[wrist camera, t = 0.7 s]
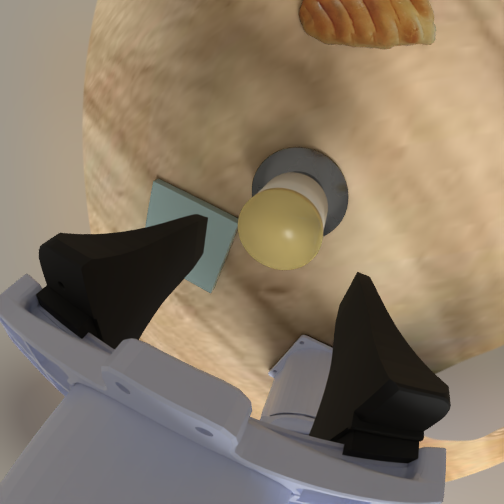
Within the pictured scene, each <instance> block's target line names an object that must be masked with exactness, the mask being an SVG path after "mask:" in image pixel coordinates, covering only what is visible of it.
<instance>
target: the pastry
mask: <svg viewBox="0 0 504 504" xmlns="http://www.w3.org/2000/svg"><path fill="white" fill-rule="evenodd" d="M299 16H300V21H301V23H302V25H303V28H304V30H305V32H306V33H307V34H309V35H310V36H312V37H314V38H316V39H318V40H320V41H321V42H323V43H325V44H338V45H342V44H344V45H348V46H352V47H369V48H378V49H390V48H391V47H393V46H401V45H405V46H408V45H415V44H424V45H431V44H432V43H434V41H435V31H436V27H435V24H434V14H433V10H432V8H431V5H430V3H429V0H303V1H302V5H301V7H300V12H299Z"/></svg>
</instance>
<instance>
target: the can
mask: <svg viewBox="0 0 504 504" xmlns="http://www.w3.org/2000/svg"><path fill="white" fill-rule="evenodd" d="M327 212H328V202H327V198H326V195H325V193H324V191H323V189H322V188H321V186H320V185H319V184H318V183H317V182H316V181H315V180H313V179H312V178H310V177H309V176H306V175H304V174H301V173H295V172H289V173H283V174H280V175H278V176H276V177H274V178H273V179H272V180H270V181H269V182H268V183H267V184H266V185H265V186H264V187H263V188H262V189H261V190H260V191H259V192H258V193H257V194H256V195H254V196H253V197H252V198H251V199H250V200H249V201H248V202H247V203H246V204H245V205H244V207H243V208H242V210H241V212H240V215H239V218H238V233H239V237H240V240H241V243H242V244H243V246H244V248H245V249H246V251H247V252H248V253H249V254H250V255H251V256H252V257H253V258H254V259H255V260H256V261H258V262H259V263H261V264H263V265H265V266H267V267H270V268H273V269H278V270H292V269H296V268H299V267H302V266H304V265H306V264H307V263H309V262H310V261H311V260H312V259H313V258H314V257H315V256H316V254H317V253H318V251H319V249H320V246H321V243H322V239H323V231H324V226H325V222H326V217H327Z"/></svg>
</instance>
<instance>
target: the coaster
mask: <svg viewBox="0 0 504 504" xmlns="http://www.w3.org/2000/svg"><path fill="white" fill-rule="evenodd" d="M193 214H199V215H202V216H205V217H208V223H207V230H206V238H205V245H204V253H203V255H202V256H201V258H200V259H199V261H198V262H197V264H196V265H195V267H194V268H193V269H192V270H191V272H190V273H189V274H188V275H187V276H186V277H185V278H184V279H186V280H188V281H190V282H191V283H193V284H195V285H197V286H198V287H200V288H202V289H204V290H206V291H207V292H209V293H211V292H212V291H213V290H214V288H215V285H216V283H217V280H218V277H219V275H220V272H221V270H222V267H223V265H224V262H225V260H226V257H227V255H228V252H229V250H230V247H231V245H232V242H233V240H234V237H235V235H236V232H237V230H238V218H236V217H234V216H232V215H230V214H228V213H226V212H224V211H222V210H220V209H218V208H216V207H214V206H213V205H211V204H209V203H207V202H205V201H203V200H201V199H199V198H197V197H195V196H193V195H191V194H189V193H186V192H184V191H182V190H180V189H178V188H176V187H174V186H172V185H170V184H168V183H166V182H164V181H162V180H160V179H157V180H155V181H153V186H152V191H151V197H150V202H149V208H148V214H147V220H146V227H149V226H153V225H157V224H161V223H165V222H168V221H171V220H175V219H178V218H182V217H185V216H189V215H193ZM146 227H145V228H146Z"/></svg>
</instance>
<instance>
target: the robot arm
mask: <svg viewBox="0 0 504 504" xmlns="http://www.w3.org/2000/svg"><path fill="white" fill-rule="evenodd" d="M207 223H208V217H205V216H202V215H199V214H193V215H189V216H185V217H182V218H178V219H175V220H171V221H168V222H165V223H161V224H157V225H153V226H149V227H146V228H141V229H137V230H131V231H125V232H117V233H107V234H67V233H59V234H57V235H56V236H54V237H53V238H51V239H50V240H48V241H47V242H45V243H44V244H42V245H41V246H40V249H39V260H40V264H41V267H42V271H43V274H44V277H45V280H46V283H47V286H46V287H44V288H43V289H42V288H41V286H40V284H39V283H38V282H37V281H35V280H34V279H33V278H32V277H31V276H30V275H28V274H25V275H24V276H23V277H21V278H20V279H19V280H18V281H16V282H15V283H14V284H13V285H11V286H10V287H9V288H8V289H7V290H6V291H4V292H3V293H2V294H1V295H0V322H1V324H2V325H3V327H4V329H5V330H6V332H7V334H8V336H9V337H10V339H11V340H12V341H13V343H14V344H15V345H16V346H17V347H18V348H19V349H20V351H21V352H22V353H23V354H24V355H25V356H26V357H27V358H28V359H29V361H30V362H31V363H32V364H33V365H34V366H35V367H36V368H37V369H38V370H39V371H40V372H41V373H42V374H43V375H44V377H46V379H47V380H48V381H49V382H50V383H51V384H52V385H53V386H54V387H56V388H57V389H58V390H59V391H60V392H61V393H62V394H63V395H64V396H65V398H64V399H63V400H62V401H61V403H60V404H59V405H58V406H57V408H56V409H55V410H54V411H53V413H52V414H51V415H50V416H49V418H48V419H47V420H46V422H45V423H44V424H43V425H42V427H41V428H40V429H39V431H38V432H37V433H36V435H35V436H34V437H33V438H32V440H31V441H30V442H29V444H28V445H27V446H26V448H25V449H24V451H23V452H22V453H21V455H20V456H19V458H18V459H17V460H16V462H15V463H14V464H13V466H12V467H11V469H10V470H9V472H8V473H7V474H6V476H5V477H4V479H3V480H2V482H1V483H0V504H441V503H442V502H443V498H444V487H445V472H446V449H445V448H437V447H423V448H419V441H422V440H423V438H424V431H425V430H426V429H428V428H429V427H431V426H433V425H434V424H435V423H437V422H438V421H440V420H441V419H442V418H443V417H444V416H445V415H446V414H447V413H448V411H449V410H450V406H451V405H450V395H449V387H448V386H447V385H446V384H445V383H444V382H443V381H442V380H441V379H440V378H439V377H437V376H436V375H435V374H434V373H433V372H432V371H431V370H430V369H429V368H428V367H427V366H426V365H425V364H424V363H423V361H422V360H421V359H420V358H419V357H418V356H417V355H416V353H415V352H414V351H413V350H412V348H411V347H410V346H409V345H408V343H407V342H406V340H405V339H404V338H403V336H402V335H401V333H400V332H399V330H398V329H397V327H396V325H395V324H394V322H393V320H392V319H391V317H390V315H389V313H388V312H387V310H386V308H385V306H384V304H383V302H382V300H381V298H380V296H379V294H378V292H377V290H376V288H375V286H374V284H373V282H372V280H371V278H370V277H369V276H367V275H364V274H361V273H359V272H357V274H356V275H355V277H354V279H353V281H352V283H351V285H350V287H349V289H348V291H347V292H346V294H345V296H344V298H343V300H342V302H341V303H340V306H339V310H338V314H337V319H336V324H335V333H334V342H333V348H332V347H330V346H327V345H325V344H323V343H321V342H319V341H317V340H315V339H313V338H311V337H309V336H307V335H302V336H300V337H299V339H298V340H297V341H296V342H295V343H294V344H293V346H292V347H291V348H290V349H289V350H288V351H287V352H286V353H285V355H284V356H283V357H282V358H281V359H280V360H279V361H278V362H277V363H276V364H275V366H274V367H273V368H272V369H271V370H270V371H269V373H268V374H269V375H270V376H271V377H273V378H274V381H273V384H272V387H271V389H270V392H269V395H268V397H267V400H266V403H265V406H264V408H263V411H262V415H261V419H260V420H257V419H254V418H252V417H250V415H251V412H252V406H251V401H250V400H249V399H248V398H247V397H246V395H245V394H244V393H243V392H242V391H241V390H240V389H238V388H236V387H235V386H233V385H231V384H229V383H227V382H226V381H224V380H222V379H220V378H217V377H215V376H213V375H210V374H208V373H206V372H204V371H202V370H199V369H197V368H195V367H193V366H191V365H189V364H187V363H185V362H183V361H181V360H179V359H177V358H175V357H173V356H171V355H169V354H167V353H165V352H163V351H161V350H159V349H157V348H155V347H153V346H152V345H150V344H148V343H145V342H142V341H140V340H139V338H140V336H141V335H142V333H143V331H144V330H145V328H146V327H147V325H148V323H149V322H150V320H151V319H152V317H153V316H154V314H155V313H156V311H157V310H158V309H159V307H160V306H161V304H162V303H163V302H164V301H165V299H166V298H167V297H168V296H169V295H170V294H171V293H172V291H173V290H174V289H175V288H176V287H177V286H178V285H179V284H180V283H181V282H182V280H183V279H184V278H185V277H186V276H187V275H188V274H189V273H190V272H191V270H192V269H193V268H194V267H195V265H196V264H197V262H198V261H199V259H200V258H201V256H202V255H203V253H204V245H205V238H206V230H207ZM301 341H303V342H301Z"/></svg>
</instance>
